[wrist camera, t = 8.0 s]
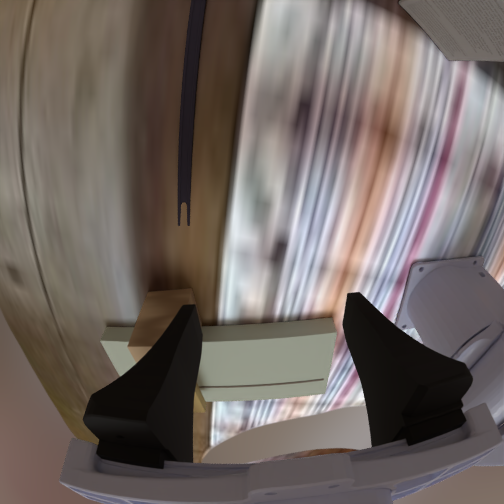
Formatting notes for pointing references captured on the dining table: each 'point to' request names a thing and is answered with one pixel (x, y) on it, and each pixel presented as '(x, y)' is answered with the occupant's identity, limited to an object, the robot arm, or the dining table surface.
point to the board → (251, 359)
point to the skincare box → (462, 27)
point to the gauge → (161, 326)
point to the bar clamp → (189, 103)
